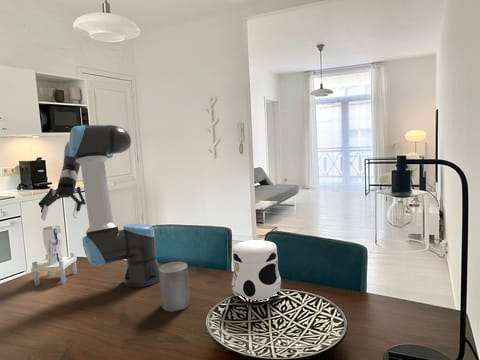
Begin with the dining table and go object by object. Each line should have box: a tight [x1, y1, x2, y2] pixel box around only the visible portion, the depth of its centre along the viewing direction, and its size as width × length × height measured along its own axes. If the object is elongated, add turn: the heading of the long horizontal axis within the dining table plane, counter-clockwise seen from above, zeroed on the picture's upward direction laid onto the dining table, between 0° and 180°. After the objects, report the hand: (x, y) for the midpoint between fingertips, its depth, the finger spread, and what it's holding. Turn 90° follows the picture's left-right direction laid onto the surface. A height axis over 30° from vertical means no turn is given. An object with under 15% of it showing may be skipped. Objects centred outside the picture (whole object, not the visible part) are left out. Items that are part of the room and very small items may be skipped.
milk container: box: [231, 239, 282, 300], centre depth 123 cm, size 17×17×18 cm
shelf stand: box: [30, 251, 78, 286], centre depth 151 cm, size 13×13×10 cm
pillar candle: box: [159, 261, 191, 313], centre depth 119 cm, size 10×10×15 cm
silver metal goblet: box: [42, 225, 63, 264], centre depth 150 cm, size 7×7×15 cm
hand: (58, 217), depth 158 cm, fingers open, 13 cm apart
